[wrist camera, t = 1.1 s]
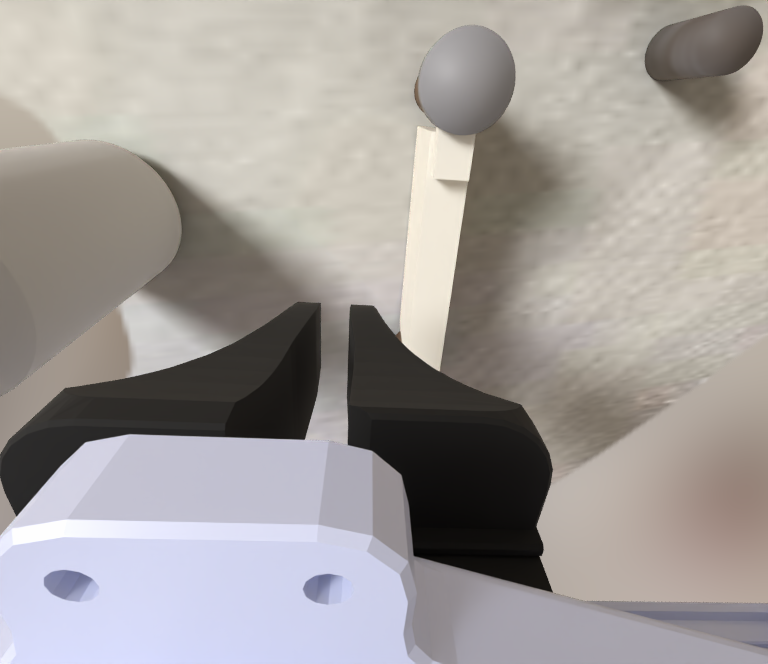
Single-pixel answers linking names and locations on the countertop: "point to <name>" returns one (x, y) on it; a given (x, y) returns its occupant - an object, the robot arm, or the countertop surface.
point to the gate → (447, 172)
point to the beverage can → (74, 244)
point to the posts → (699, 47)
